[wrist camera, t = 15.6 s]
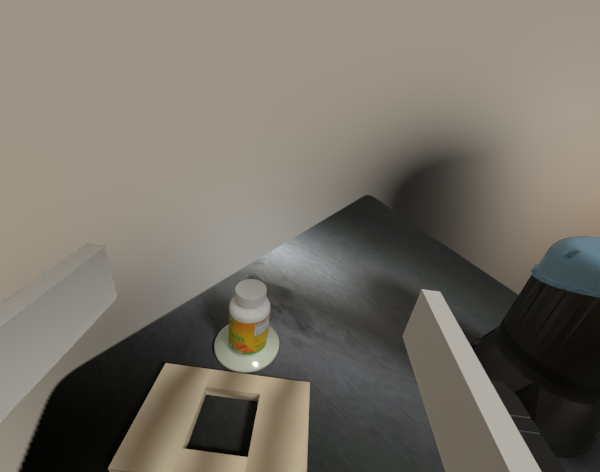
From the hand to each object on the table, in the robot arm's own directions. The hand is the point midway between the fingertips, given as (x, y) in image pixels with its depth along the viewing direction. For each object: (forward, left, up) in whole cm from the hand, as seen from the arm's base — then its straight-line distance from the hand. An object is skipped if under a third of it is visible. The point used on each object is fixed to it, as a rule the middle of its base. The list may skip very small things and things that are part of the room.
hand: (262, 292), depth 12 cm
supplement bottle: (+4, -19, -26) cm, 32 cm away
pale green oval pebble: (+4, -19, -26) cm, 32 cm away
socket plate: (+4, -8, -26) cm, 27 cm away
